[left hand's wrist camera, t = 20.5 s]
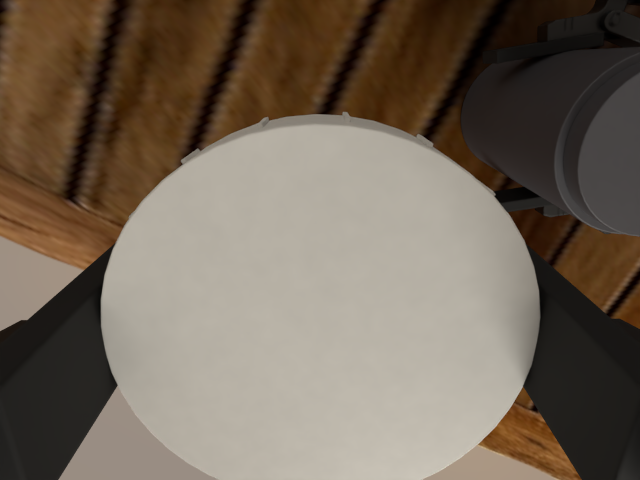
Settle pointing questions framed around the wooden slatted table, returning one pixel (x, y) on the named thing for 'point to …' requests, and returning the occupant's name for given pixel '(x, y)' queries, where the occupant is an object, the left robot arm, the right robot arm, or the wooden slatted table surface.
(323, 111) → the wooden slatted table surface
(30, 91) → the wooden slatted table surface
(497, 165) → the jar
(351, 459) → the lid
